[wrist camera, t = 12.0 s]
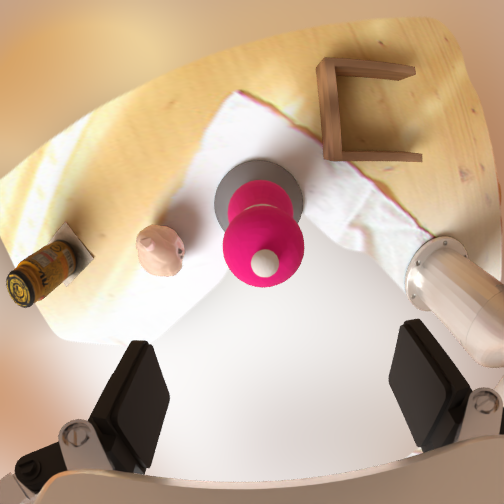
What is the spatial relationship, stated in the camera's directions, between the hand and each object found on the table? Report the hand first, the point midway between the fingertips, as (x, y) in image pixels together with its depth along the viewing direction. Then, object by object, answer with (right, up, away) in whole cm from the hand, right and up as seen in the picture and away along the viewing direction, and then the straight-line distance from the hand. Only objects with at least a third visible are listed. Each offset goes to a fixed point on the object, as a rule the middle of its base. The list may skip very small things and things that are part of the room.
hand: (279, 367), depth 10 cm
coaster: (0, +10, +27) cm, 29 cm away
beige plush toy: (-13, +5, +30) cm, 32 cm away
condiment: (-30, +4, +30) cm, 43 cm away
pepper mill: (0, +10, +27) cm, 29 cm away
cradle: (+13, +22, +23) cm, 34 cm away
